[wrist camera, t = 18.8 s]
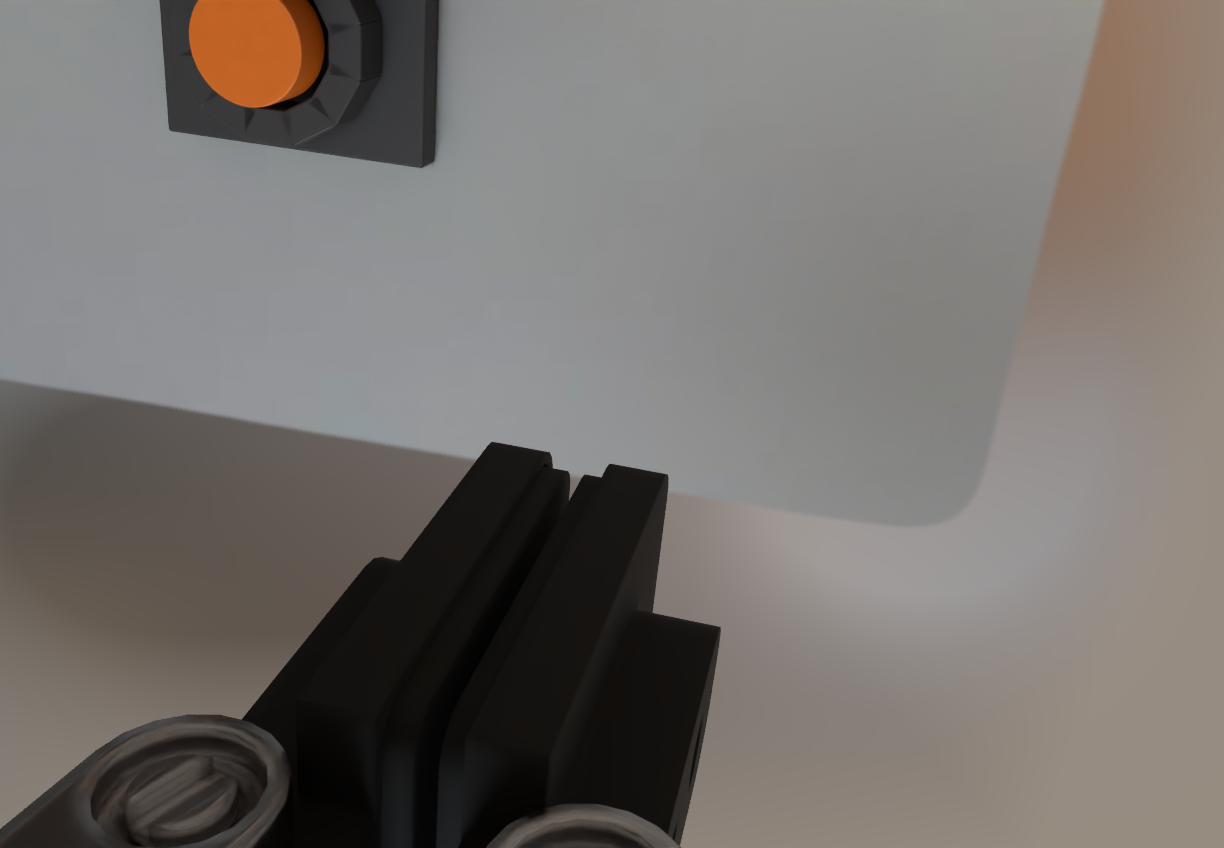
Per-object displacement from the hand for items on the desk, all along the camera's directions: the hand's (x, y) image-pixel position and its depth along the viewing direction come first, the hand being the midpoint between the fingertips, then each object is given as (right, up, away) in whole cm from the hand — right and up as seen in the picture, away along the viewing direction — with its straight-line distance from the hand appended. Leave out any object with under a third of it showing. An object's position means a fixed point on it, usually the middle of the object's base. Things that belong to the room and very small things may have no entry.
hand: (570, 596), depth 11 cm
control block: (-11, +16, +31) cm, 36 cm away
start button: (-11, +15, +28) cm, 34 cm away
